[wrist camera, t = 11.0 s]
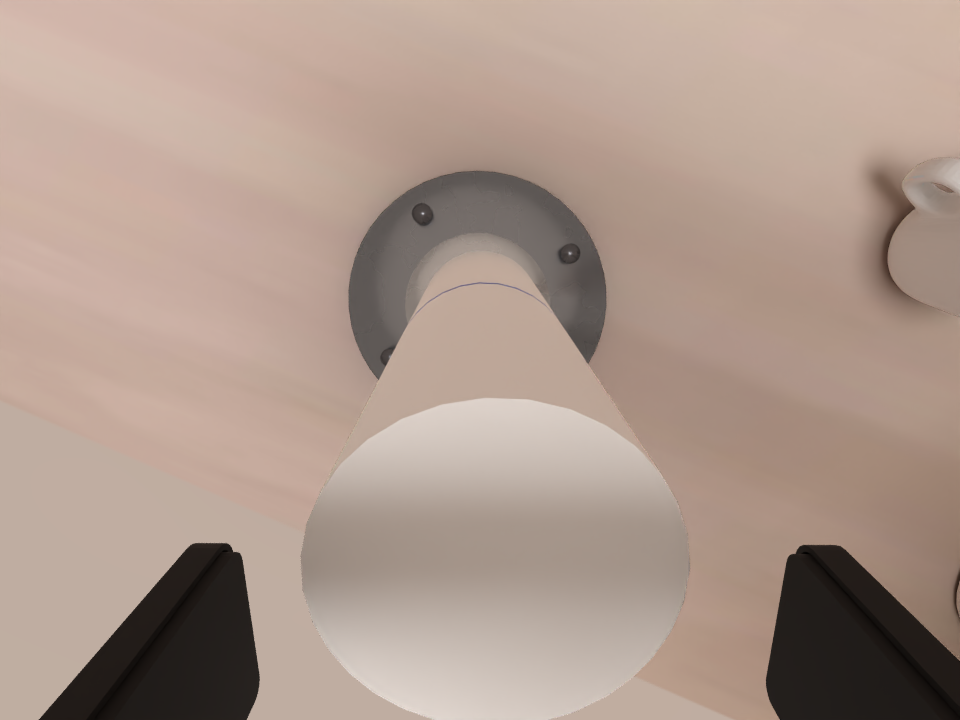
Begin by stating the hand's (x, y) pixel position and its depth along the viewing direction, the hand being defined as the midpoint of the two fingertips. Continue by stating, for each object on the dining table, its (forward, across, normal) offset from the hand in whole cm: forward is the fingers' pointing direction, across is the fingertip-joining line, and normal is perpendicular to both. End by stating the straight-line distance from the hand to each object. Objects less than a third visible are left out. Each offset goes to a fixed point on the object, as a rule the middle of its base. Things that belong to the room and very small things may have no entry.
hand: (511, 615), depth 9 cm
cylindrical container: (+26, +1, 0) cm, 26 cm away
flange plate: (+27, +1, 0) cm, 27 cm away
